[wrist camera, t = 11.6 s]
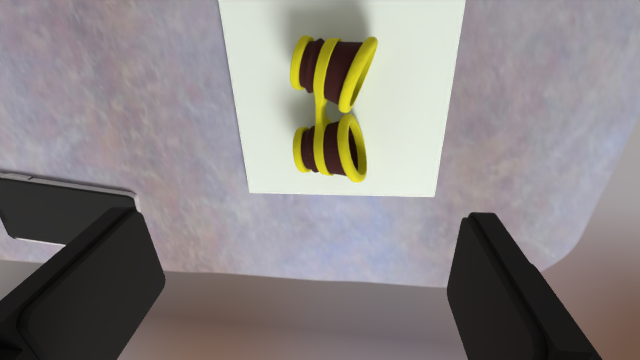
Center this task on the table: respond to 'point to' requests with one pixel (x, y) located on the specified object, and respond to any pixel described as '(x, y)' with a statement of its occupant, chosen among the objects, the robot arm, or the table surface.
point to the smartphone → (54, 207)
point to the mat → (373, 99)
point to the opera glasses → (340, 88)
